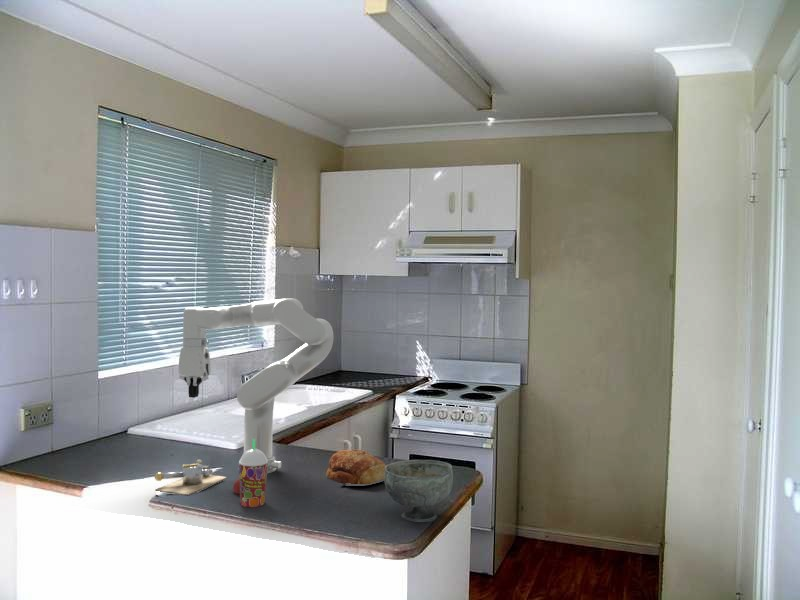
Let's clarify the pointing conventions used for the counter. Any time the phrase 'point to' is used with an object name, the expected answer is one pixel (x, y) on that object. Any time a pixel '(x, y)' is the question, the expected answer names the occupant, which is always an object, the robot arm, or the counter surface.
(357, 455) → the bread
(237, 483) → the fruit
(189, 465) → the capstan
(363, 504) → the counter surface
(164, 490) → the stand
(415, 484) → the bowl
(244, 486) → the smoothie
